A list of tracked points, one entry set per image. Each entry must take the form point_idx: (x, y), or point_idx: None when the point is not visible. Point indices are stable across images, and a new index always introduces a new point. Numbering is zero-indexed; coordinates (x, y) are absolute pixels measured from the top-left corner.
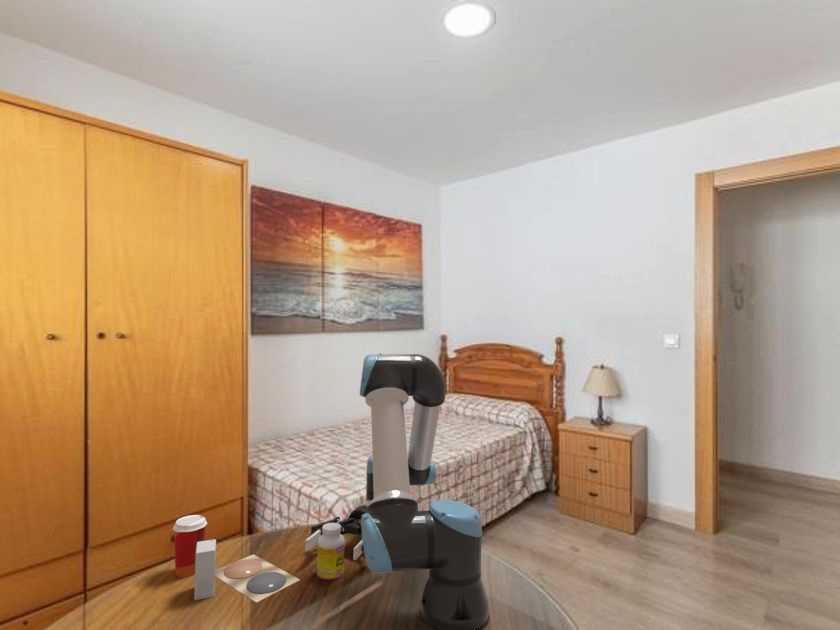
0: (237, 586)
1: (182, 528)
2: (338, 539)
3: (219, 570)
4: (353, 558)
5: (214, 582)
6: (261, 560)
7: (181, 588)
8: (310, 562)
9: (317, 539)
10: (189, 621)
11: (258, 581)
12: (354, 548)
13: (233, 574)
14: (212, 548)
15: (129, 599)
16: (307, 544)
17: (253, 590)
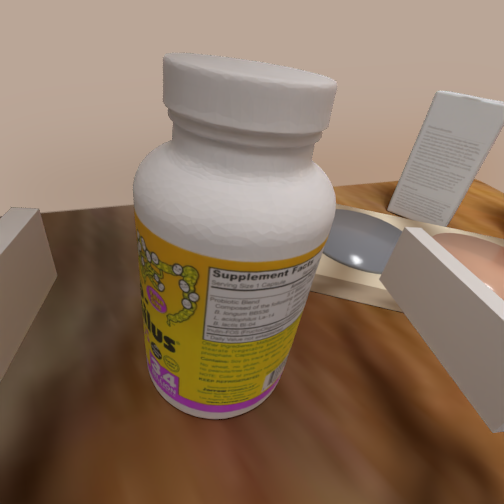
0: (397, 220)
1: None
2: (164, 144)
3: None
4: (53, 270)
5: (404, 171)
6: None
7: (487, 226)
8: (430, 455)
9: (467, 359)
10: (359, 185)
11: (379, 233)
12: (28, 209)
13: (463, 240)
14: (449, 92)
15: (492, 200)
16: (397, 249)
17: (347, 212)
